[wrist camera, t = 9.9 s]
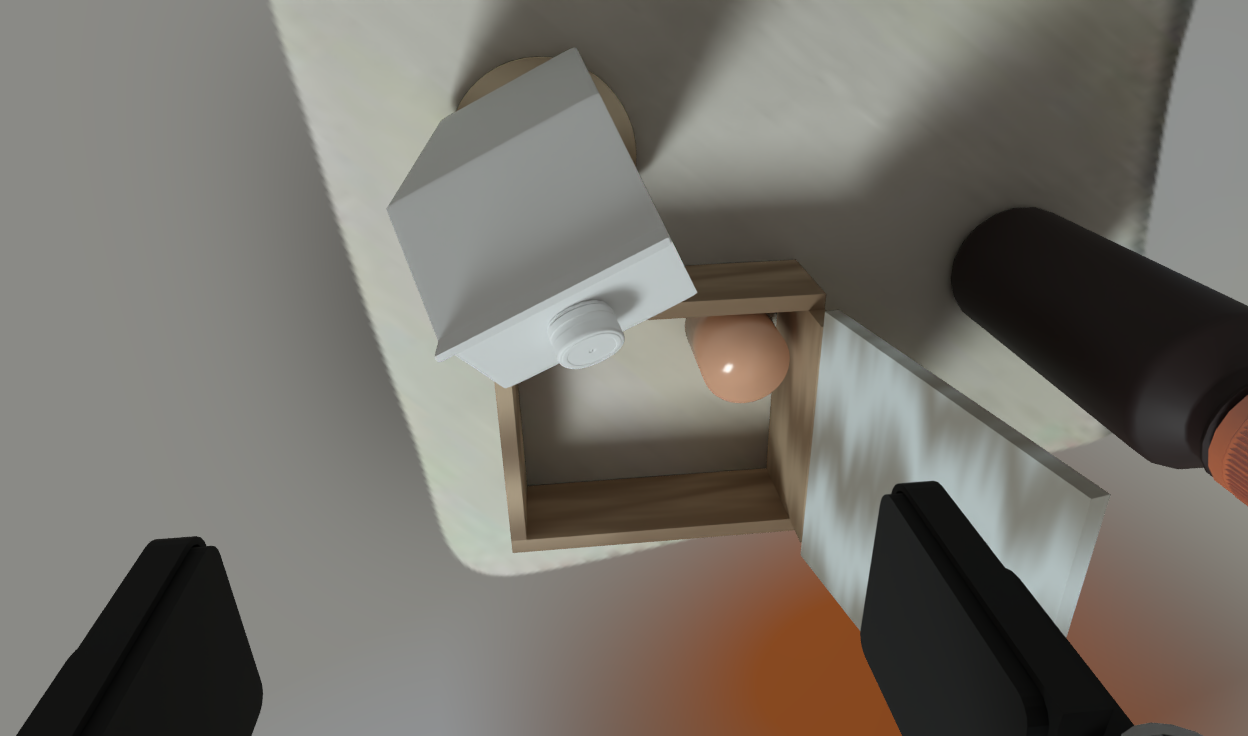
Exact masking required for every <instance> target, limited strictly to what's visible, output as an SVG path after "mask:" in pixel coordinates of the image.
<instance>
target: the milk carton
mask: <svg viewBox="0 0 1248 736" xmlns="http://www.w3.org/2000/svg"><path fill="white" fill-rule="evenodd" d="M387 212H388V215H389V217H390V220H391V222H392V225H393V227H394V230H395V232H396V235H397V238H398V240H399V243H400V245H401V248H402V250H403V253H404V255H405V258H406V260H407V263H408V265H409V268H410V271H411V273H412V276H413V278H414V281H415V283H416V286H417V288H418V291H419V293H420V296H421V299H422V301H423V304H424V306H425V309H426V311H427V314H428V316H429V319H430V321H431V324H432V327H433V329H434V332H435V334H436V337H437V339H438V345H437V349H436V353H435V359H436V360H437V361H438V362H442V361H444V360H446V359H448V358H450V357H452V356H454V355H455V356H457V357H458V358H460V359H461V360H463V361H464V362H466V363H467V364H469V365H470V366H472V367H473V368H475V369H476V370H478V371H479V372H481V373H482V374H484V375H485V376H487V377H488V378H490V379H491V380H493V381H494V382H496V383H497V384H499V385H500V386H502V387H503V388H508V387H511V386H513V385H516V384H518V383H520V382H522V381H524V380H526V379H528V378H530V377H532V376H535V375H537V374H539V373H541V372H543V371H545V370H547V369H549V368H551V367H553V366H555V365H557V364H560V365H562V366H563V367H565V368H569V369H581V368H585V367H589V366H592V365H595V364H597V363H599V362H602V361H604V360H605V359H607V358H609V357H610V356H612V355H613V354H615V353H616V352H617V351H618V350H619V349H620V348H621V347H622V345H623V343H624V334H623V331H625V330H627V329H629V328H631V327H633V326H635V325H637V324H639V323H641V322H643V321H645V320H647V319H649V318H651V317H653V316H655V315H657V314H659V313H661V312H663V311H665V310H667V309H669V308H671V307H673V306H675V305H677V304H678V303H680V302H682V301H684V300H686V299H688V298H690V297H692V296H694V295H695V294H696V293H697V291H696V289H695V287H694V285H693V283H692V281H691V279H690V277H689V275H688V273H687V271H686V269H685V267H684V264H683V262H682V260H681V258H680V256H679V254H678V252H677V250H676V248H675V246H674V244H673V242H672V240H671V238H670V236H669V234H668V232H667V230H666V228H665V226H664V224H663V222H662V220H661V218H660V216H659V214H658V212H657V210H656V207H655V205H654V203H653V201H652V199H651V197H650V195H649V193H648V191H647V189H646V187H645V185H644V183H643V181H642V179H641V177H640V175H639V173H638V171H637V169H636V167H635V165H634V163H633V161H632V159H631V157H630V155H629V153H628V151H627V149H626V147H625V145H624V143H623V141H622V138H621V136H620V134H619V132H618V130H617V128H616V126H615V124H614V122H613V120H612V118H611V116H610V114H609V112H608V110H607V108H606V106H605V104H604V102H603V100H602V98H601V96H600V94H599V92H598V90H597V88H596V86H595V84H594V82H593V80H592V78H591V76H590V74H589V72H588V70H587V68H586V66H585V64H584V62H583V60H582V58H581V56H580V54H579V52H578V50H577V49H576V48H571V49H569V50H567V51H565V52H563V53H561V54H559V55H557V56H556V57H554V58H552V59H550V60H548V61H547V62H545V63H543V64H541V65H539V66H537V67H536V68H534V69H532V70H530V71H528V72H527V73H525V74H523V75H521V76H519V77H518V78H516V79H514V80H512V81H510V82H509V83H507V84H505V85H503V86H501V87H499V88H498V89H496V90H494V91H492V92H490V93H489V94H487V95H485V96H483V97H481V98H480V99H478V100H476V101H474V102H472V103H471V104H469V105H467V106H465V107H463V108H462V109H460V110H458V111H456V112H454V113H453V114H451V115H449V116H447V117H446V118H444V119H443V120H442V121H441V122H440V123H439V125H438V126H437V128H436V130H435V131H434V133H433V134H432V136H431V138H430V139H429V141H428V143H427V144H426V146H425V147H424V149H423V151H422V152H421V154H420V156H419V157H418V159H417V160H416V162H415V164H414V165H413V167H412V169H411V170H410V172H409V173H408V175H407V177H406V178H405V180H404V182H403V183H402V185H401V186H400V188H399V190H398V191H397V193H396V194H395V196H394V198H393V199H392V201H391V203H390V204H389V206H388V207H387Z"/></svg>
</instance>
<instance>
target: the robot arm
mask: <svg viewBox="0 0 1248 736" xmlns="http://www.w3.org/2000/svg"><path fill="white" fill-rule="evenodd" d="M860 636H861V644H862V649H863V652H864V655H865V658H866V660H867V662H868V664H869V666H870V668H871V670H872V672H873V675H874V677H875V679H876V681H877V683H878V685H879V687H880V690H881V691H882V694H883V696H884V698H885V700H886V702H887V704H888V706H889V708H890V711H891V713H892V715H893V717H894V719H895V721H896V724H897V725H898V728H899V730H900V732H901V734H902V736H1203V735H1200V734H1199V733H1197V732H1195V731H1191V730H1188V729H1185V728H1181V727H1178V726H1175V725H1171V724H1160V723H1147V724H1141V725H1136V726H1134V725H1133V723H1132V722H1131V721H1130V719H1129V718H1128V717H1127V716H1126V714H1125V713H1124V712H1123V710H1122V709H1121V708H1120V707H1119V705H1118V704H1117V703H1116V701H1115V700H1114V699H1113V698H1112V696H1111V695H1110V694H1109V693H1108V691H1107V690H1106V689H1105V687H1104V686H1103V685H1102V683H1101V682H1100V681H1099V680H1098V678H1097V677H1096V676H1095V674H1094V673H1093V672H1092V671H1091V669H1090V668H1089V667H1088V666H1087V664H1086V663H1085V662H1084V660H1083V659H1082V658H1081V657H1080V655H1079V654H1078V653H1077V651H1076V650H1075V649H1074V648H1073V646H1072V645H1071V644H1070V642H1069V641H1068V640H1067V639H1066V637H1065V636H1064V635H1063V633H1062V632H1061V631H1060V630H1059V628H1058V627H1057V626H1056V624H1055V623H1054V622H1053V621H1052V619H1051V618H1050V617H1049V615H1048V614H1047V613H1046V612H1045V610H1044V609H1043V608H1042V606H1041V605H1040V604H1039V603H1038V601H1037V600H1036V599H1035V598H1034V596H1033V595H1032V594H1031V592H1030V591H1029V590H1028V589H1027V587H1026V586H1025V585H1024V583H1023V582H1022V581H1021V580H1020V578H1019V577H1018V576H1017V575H1016V574H1015V573H1014V572H1013V571H1011V570H1009V569H1007V568H1005V567H1004V566H1003V564H1002V563H1001V562H1000V560H999V559H998V558H997V556H996V555H995V554H994V553H993V551H992V550H991V549H990V547H989V546H988V545H987V543H986V542H985V541H984V540H983V538H982V537H981V536H980V534H979V533H978V532H977V530H976V529H975V528H974V527H973V525H972V524H971V523H970V521H969V520H968V519H967V517H966V516H965V515H964V514H963V512H962V511H961V510H960V508H959V507H958V506H957V504H956V503H955V502H954V501H953V499H952V498H951V497H950V495H949V494H948V493H947V491H946V490H945V489H944V488H943V486H942V485H941V484H940V483H939V482H936V481H923V482H910V483H898V484H896V485H895V486H894V487H893V489H892V493H891V494H885V495H883V497H882V498H881V502H880V507H879V514H878V520H877V526H876V533H875V539H874V546H873V552H872V559H871V565H870V572H869V578H868V584H867V591H866V597H865V604H864V610H863V617H862V623H861V631H860ZM262 699H263V689H262V683H261V680H260V676H259V673H258V670H257V667H256V664H255V661H254V658H253V655H252V652H251V649H250V645H249V643H248V639H247V636H246V633H245V630H244V627H243V624H242V621H241V617H240V615H239V611H238V609H237V605H236V602H235V599H234V596H233V593H232V590H231V587H230V583H229V580H228V577H227V574H226V571H225V568H224V565H223V562H222V559H221V555H220V553H219V551H218V549H217V548H216V547H215V546H206V544H205V542H204V540H203V539H202V538H201V537H197V536H194V537H181V538H168V539H156V540H153V541H151V542H150V543H149V544H148V545H147V546H146V547H145V549H144V550H143V552H142V553H141V555H140V556H139V558H138V559H137V561H136V562H135V564H134V565H133V567H132V568H131V570H130V571H129V573H128V574H127V576H126V577H125V579H124V580H123V582H122V583H121V585H120V586H119V587H118V589H117V590H116V592H115V593H114V595H113V596H112V598H111V599H110V601H109V603H108V604H107V606H106V607H105V608H104V610H103V611H102V613H101V614H100V616H99V617H98V619H97V620H96V622H95V623H94V625H93V627H92V628H91V629H90V631H89V632H88V634H87V635H86V637H85V638H84V640H83V641H82V643H81V644H80V646H79V648H78V649H77V650H75V652H74V653H73V654H72V655H71V656H70V657H69V658H68V660H67V661H66V662H65V664H64V666H63V667H62V668H61V670H60V671H59V673H58V674H57V676H56V677H55V679H54V680H53V682H52V683H51V685H50V686H49V688H48V689H47V691H46V692H45V694H44V695H43V697H42V698H41V699H40V701H39V702H38V704H37V706H36V707H35V708H34V710H33V711H32V713H31V715H30V716H29V717H28V719H27V720H26V722H25V723H24V725H23V726H22V728H21V729H20V731H19V732H18V734H17V735H16V736H251V735H252V733H253V730H254V727H255V725H256V722H257V719H258V716H259V713H260V710H261V706H262Z"/></svg>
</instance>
